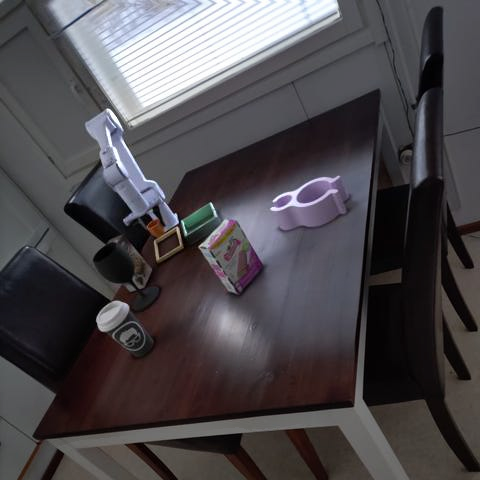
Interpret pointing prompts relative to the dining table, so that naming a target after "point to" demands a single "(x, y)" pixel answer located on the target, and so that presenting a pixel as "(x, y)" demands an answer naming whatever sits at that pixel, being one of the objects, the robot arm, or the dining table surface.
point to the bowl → (156, 228)
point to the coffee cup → (124, 328)
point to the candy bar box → (231, 256)
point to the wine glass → (122, 272)
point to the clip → (311, 204)
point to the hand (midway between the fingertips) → (157, 230)
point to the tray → (172, 250)
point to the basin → (200, 223)
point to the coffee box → (141, 266)
